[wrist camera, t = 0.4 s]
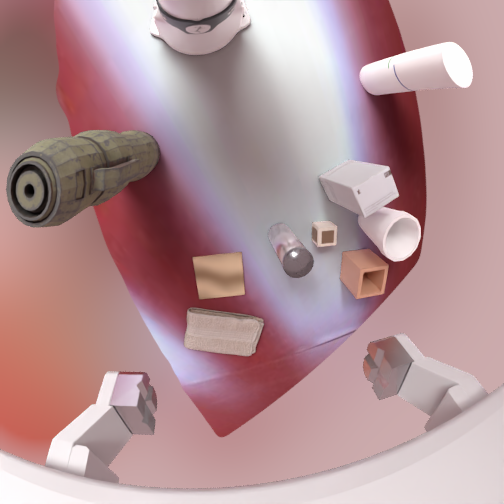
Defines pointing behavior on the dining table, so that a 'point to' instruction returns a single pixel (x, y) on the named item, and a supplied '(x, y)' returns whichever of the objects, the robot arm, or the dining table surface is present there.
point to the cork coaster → (219, 275)
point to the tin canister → (290, 251)
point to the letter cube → (324, 233)
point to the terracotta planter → (363, 273)
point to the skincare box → (359, 186)
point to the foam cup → (392, 232)
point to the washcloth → (222, 332)
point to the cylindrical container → (419, 70)
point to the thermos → (76, 173)
